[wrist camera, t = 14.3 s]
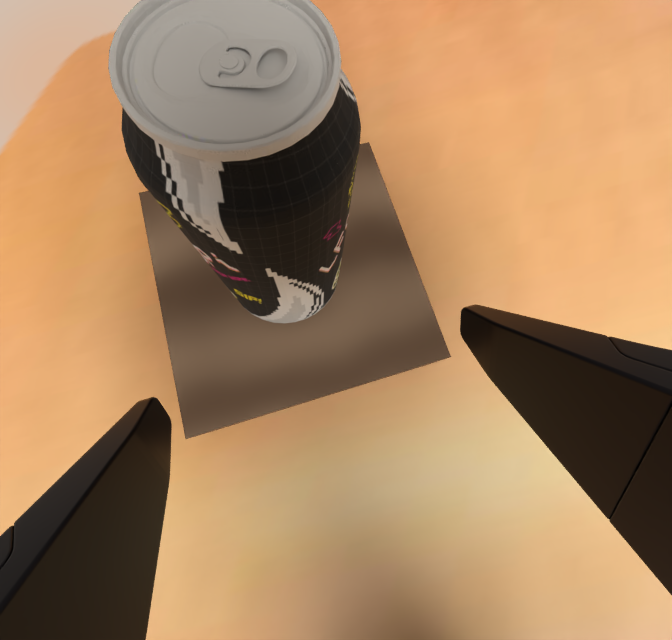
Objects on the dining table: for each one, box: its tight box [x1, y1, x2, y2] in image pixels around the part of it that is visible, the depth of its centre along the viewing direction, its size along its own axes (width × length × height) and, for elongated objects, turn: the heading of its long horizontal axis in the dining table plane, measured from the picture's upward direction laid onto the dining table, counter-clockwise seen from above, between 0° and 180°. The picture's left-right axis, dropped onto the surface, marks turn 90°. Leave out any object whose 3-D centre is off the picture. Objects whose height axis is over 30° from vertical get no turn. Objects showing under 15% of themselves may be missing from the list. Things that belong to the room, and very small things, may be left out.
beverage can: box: [109, 0, 361, 323], centre depth 12 cm, size 6×6×12 cm
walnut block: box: [139, 142, 451, 439], centre depth 20 cm, size 14×14×3 cm
